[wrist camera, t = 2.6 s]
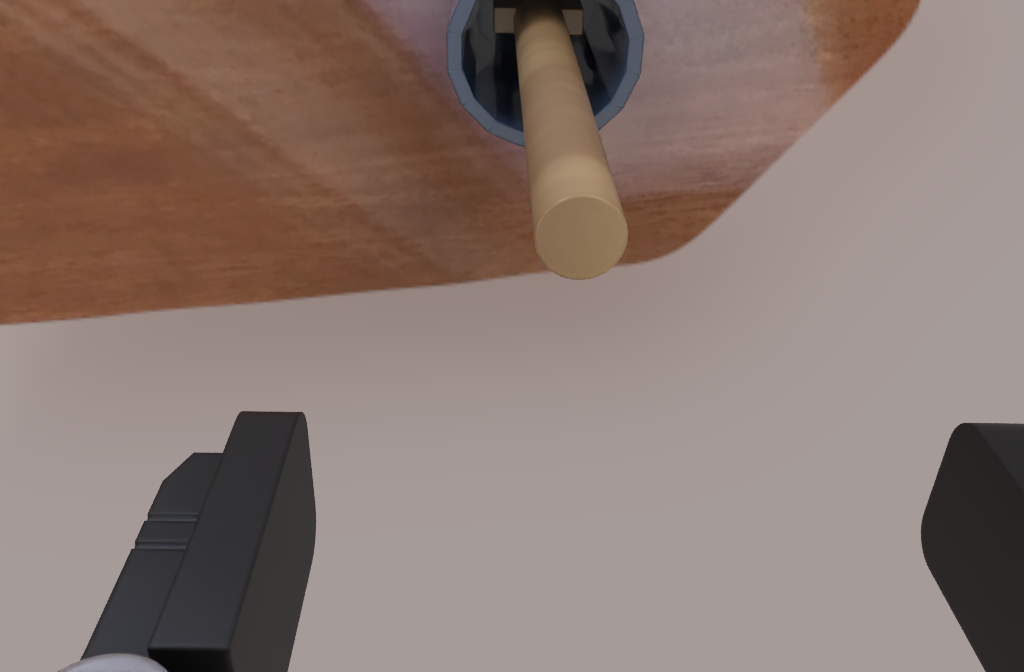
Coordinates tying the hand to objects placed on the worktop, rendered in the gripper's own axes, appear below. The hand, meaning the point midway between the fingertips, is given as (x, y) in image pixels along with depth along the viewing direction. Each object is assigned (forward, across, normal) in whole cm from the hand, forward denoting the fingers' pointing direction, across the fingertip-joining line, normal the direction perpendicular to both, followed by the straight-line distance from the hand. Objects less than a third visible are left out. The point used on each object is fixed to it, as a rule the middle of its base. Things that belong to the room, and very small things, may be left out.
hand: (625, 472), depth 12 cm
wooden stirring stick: (+30, 0, 0) cm, 30 cm away
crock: (+31, 0, 0) cm, 31 cm away
